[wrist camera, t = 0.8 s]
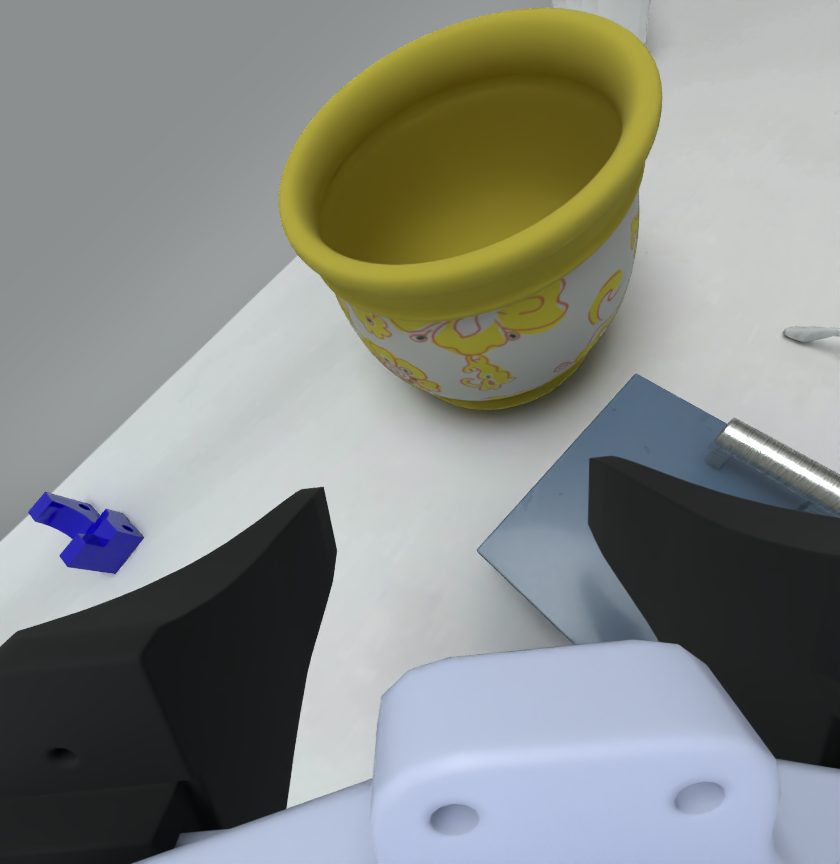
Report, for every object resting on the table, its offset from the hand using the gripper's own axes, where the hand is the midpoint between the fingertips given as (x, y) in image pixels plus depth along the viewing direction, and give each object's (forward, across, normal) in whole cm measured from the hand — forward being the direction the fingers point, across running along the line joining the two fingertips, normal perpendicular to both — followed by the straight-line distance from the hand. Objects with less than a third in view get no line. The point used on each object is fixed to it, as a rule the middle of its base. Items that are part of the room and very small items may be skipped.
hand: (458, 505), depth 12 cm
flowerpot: (+25, -6, 0) cm, 25 cm away
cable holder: (+23, +29, +12) cm, 40 cm away
